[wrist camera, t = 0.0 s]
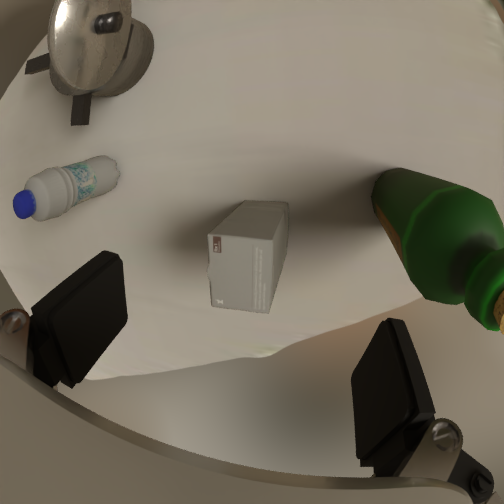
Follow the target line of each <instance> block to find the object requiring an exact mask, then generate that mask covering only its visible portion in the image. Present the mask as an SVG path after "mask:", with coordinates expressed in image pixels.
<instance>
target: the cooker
mask: <svg viewBox="0 0 504 504" xmlns="http://www.w3.org/2000/svg"><path fill="white" fill-rule="evenodd" d="M153 51H154V40H153V35H152V33H151V31H150V29H149V28H148V27H147V26H146V25H145V24H143V23H142V22H140V21H138V20H136V19H134V18H132V17H131V26H130V33H129V38H128V42H127V46H126V49H125V52H124V55H123V57H122V60H121V62H120V64H119V66H118V68H117V70H116V71H115V73H114V74H113V75H112V77H111V78H110V79H109V80H108V81H107V82H106V83H105V84H104V85H102V86H101V87H99V88H96V89H93V90H75V89H72V88H70V87H68V86H67V85H66V84H65V83H64V82H63V81H62V80H61V79H60V78H59V76H58V75H57V73H56V72H55V69H54V67H53V65H52V62H51V59H50V55H49V53H47V54H44V55H41V56H39V57H36V58H33V59H31V60H28V61H27V64H26V69H25V74H34V73H38V72H41V71H44V70H48V69H50V78H51V81H52V84H53V86H54V87H55V89H56V90H57V91H59V92H60V93H62V94H64V95H74V97H73V105H72V115H71V126H74V125H89V115H90V106H91V98H92V96H116V95H119V94H122V93H124V92H126V91H128V90H129V89H130V88H132V87H133V86H134V85H135V84H136V83H137V82H138V81H139V80H140V79H141V78H142V76H143V75H144V74H145V72H146V70H147V69H148V67H149V65H150V62H151V59H152V56H153Z"/></svg>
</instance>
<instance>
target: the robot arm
mask: <svg viewBox="0 0 504 504" xmlns="http://www.w3.org/2000/svg"><path fill="white" fill-rule="evenodd" d="M31 310H32V313H33V315H31V316H29V314H28V313H27V312H26V311H25V310H23V309H10V310H7V311H5V312H4V313H2V314H1V315H0V504H504V503H503V501H502V500H501V498H500V497H499V495H498V494H497V492H496V491H495V492H494V493H492V492H493V488H494V480H493V476H492V474H491V472H489V470H488V469H486V468H485V467H484V466H483V465H481V464H480V463H479V462H477V461H476V460H475V459H473V458H472V457H471V456H470V455H468V454H467V453H466V452H464V451H463V450H462V445H463V435H462V432H461V430H460V428H459V427H458V425H457V424H456V423H454V422H453V421H451V420H449V419H446V418H438V419H436V420H435V417H434V414H435V413H436V412H435V408H434V405H433V401H432V398H431V395H430V392H429V388H428V385H427V382H426V379H425V376H424V373H423V370H422V367H421V364H420V361H419V359H418V356H417V353H416V350H415V348H414V345H413V343H412V340H411V337H410V335H409V332H408V330H407V327H406V325H405V322H404V321H403V320H399V319H393V318H387V319H386V320H385V321H382V322H381V323H380V325H379V326H378V328H377V330H376V332H375V334H374V336H373V338H372V340H371V342H370V343H369V345H368V347H367V349H366V351H365V352H364V354H363V356H362V358H361V359H360V361H359V363H358V365H357V366H356V368H355V369H354V371H353V373H352V377H351V386H352V396H353V408H354V422H355V438H356V439H355V440H356V456H357V458H358V459H360V467H374V474H373V475H372V476H371V477H370V478H351V477H350V478H349V477H326V476H312V475H301V474H291V473H284V472H276V471H270V470H264V469H258V468H253V467H248V466H243V465H238V464H234V463H230V462H225V461H221V460H217V459H213V458H210V457H206V456H202V455H199V454H196V453H192V452H189V451H186V450H183V449H180V448H177V447H174V446H171V445H168V444H165V443H162V442H160V441H157V440H154V439H152V438H149V437H146V436H144V435H142V434H139V433H137V432H135V431H132V430H130V429H128V428H125V427H123V426H121V425H119V424H117V423H115V422H113V421H110V420H108V419H106V418H104V417H102V416H100V415H98V414H96V413H95V412H92V411H91V410H89V409H87V408H85V407H83V406H82V405H80V404H78V403H76V402H74V401H73V400H71V399H69V398H68V397H66V396H64V395H63V394H61V393H59V392H58V388H57V384H58V382H59V381H61V382H62V383H63V384H65V385H67V386H68V387H70V388H71V389H72V388H73V387H74V386H75V384H76V383H80V382H81V381H82V380H83V379H84V377H85V376H86V375H87V373H88V372H89V371H90V369H91V368H92V367H93V365H94V364H95V363H96V361H97V360H98V359H99V358H100V356H101V355H102V354H103V352H104V351H105V350H106V349H107V347H108V346H109V345H110V343H111V342H112V341H113V340H114V338H115V337H116V336H117V335H118V333H119V332H120V331H121V330H122V328H123V327H124V326H125V324H126V322H127V319H128V314H127V306H126V297H125V286H124V274H123V262H122V260H121V259H120V257H119V255H118V254H116V253H113V252H109V251H105V250H104V251H102V252H101V253H99V254H98V255H96V256H95V257H94V258H92V259H91V260H90V261H88V262H87V263H86V264H84V265H83V266H82V267H81V268H79V269H78V270H77V271H75V272H74V273H73V274H72V275H70V276H69V277H68V278H66V279H65V280H64V281H63V282H61V283H60V284H59V285H58V286H56V287H55V288H54V289H53V290H52V291H50V292H49V293H48V294H47V295H46V296H44V297H43V298H42V299H41V300H40V301H39V302H37V303H36V304H35V305H34V306H33V307H32V308H31Z"/></svg>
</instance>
